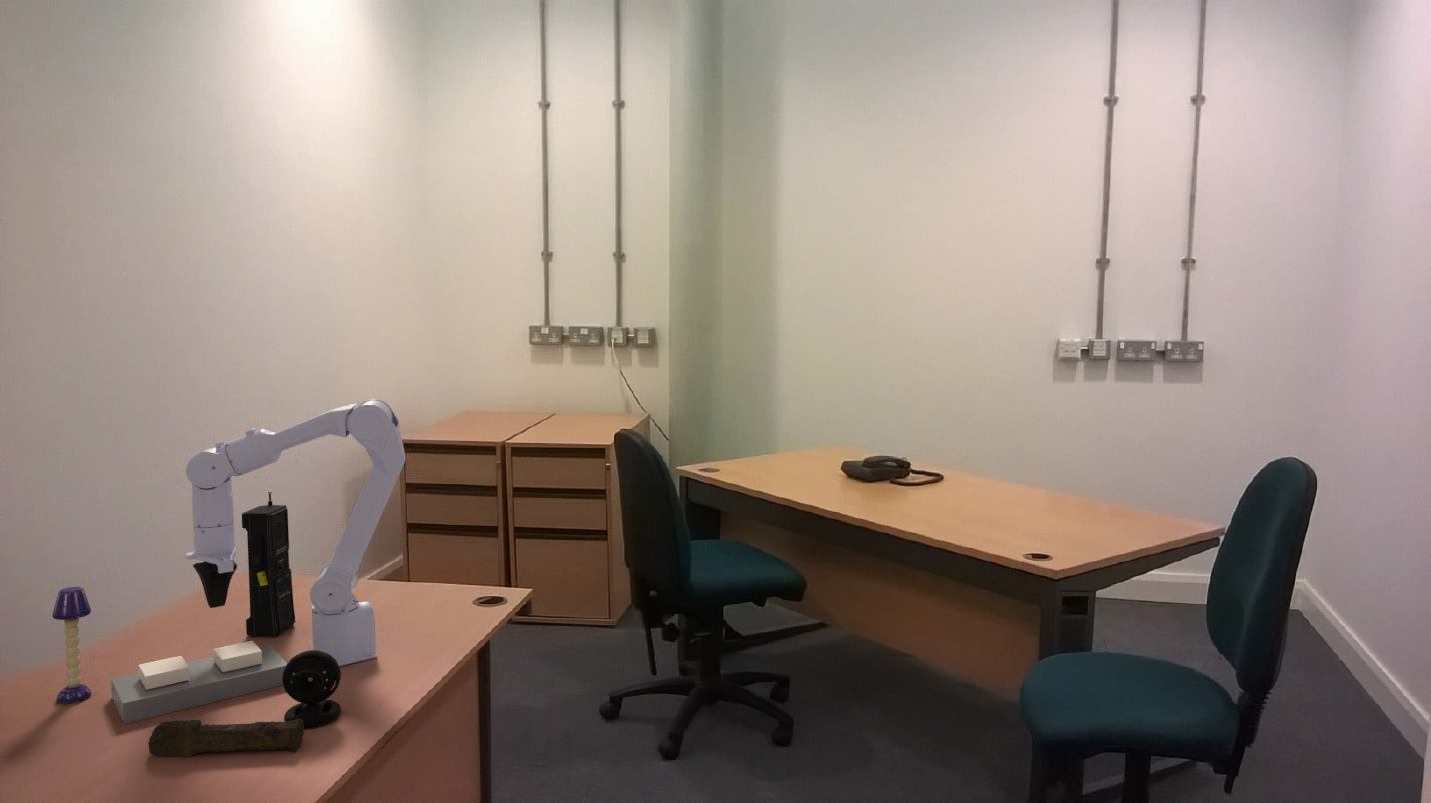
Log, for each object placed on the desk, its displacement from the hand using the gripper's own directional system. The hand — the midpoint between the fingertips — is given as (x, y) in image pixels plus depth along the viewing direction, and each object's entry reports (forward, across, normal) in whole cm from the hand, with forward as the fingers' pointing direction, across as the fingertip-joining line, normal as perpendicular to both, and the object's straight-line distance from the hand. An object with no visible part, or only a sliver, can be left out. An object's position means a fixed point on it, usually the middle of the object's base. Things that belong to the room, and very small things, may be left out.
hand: (216, 605), depth 145 cm
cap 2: (+10, +8, +1) cm, 13 cm away
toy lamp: (+11, -1, -19) cm, 22 cm away
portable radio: (+11, -12, +11) cm, 20 cm away
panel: (+10, +8, -4) cm, 14 cm away
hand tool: (+11, +31, -6) cm, 34 cm away
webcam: (+11, +28, +6) cm, 30 cm away
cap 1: (+10, +8, -9) cm, 16 cm away
